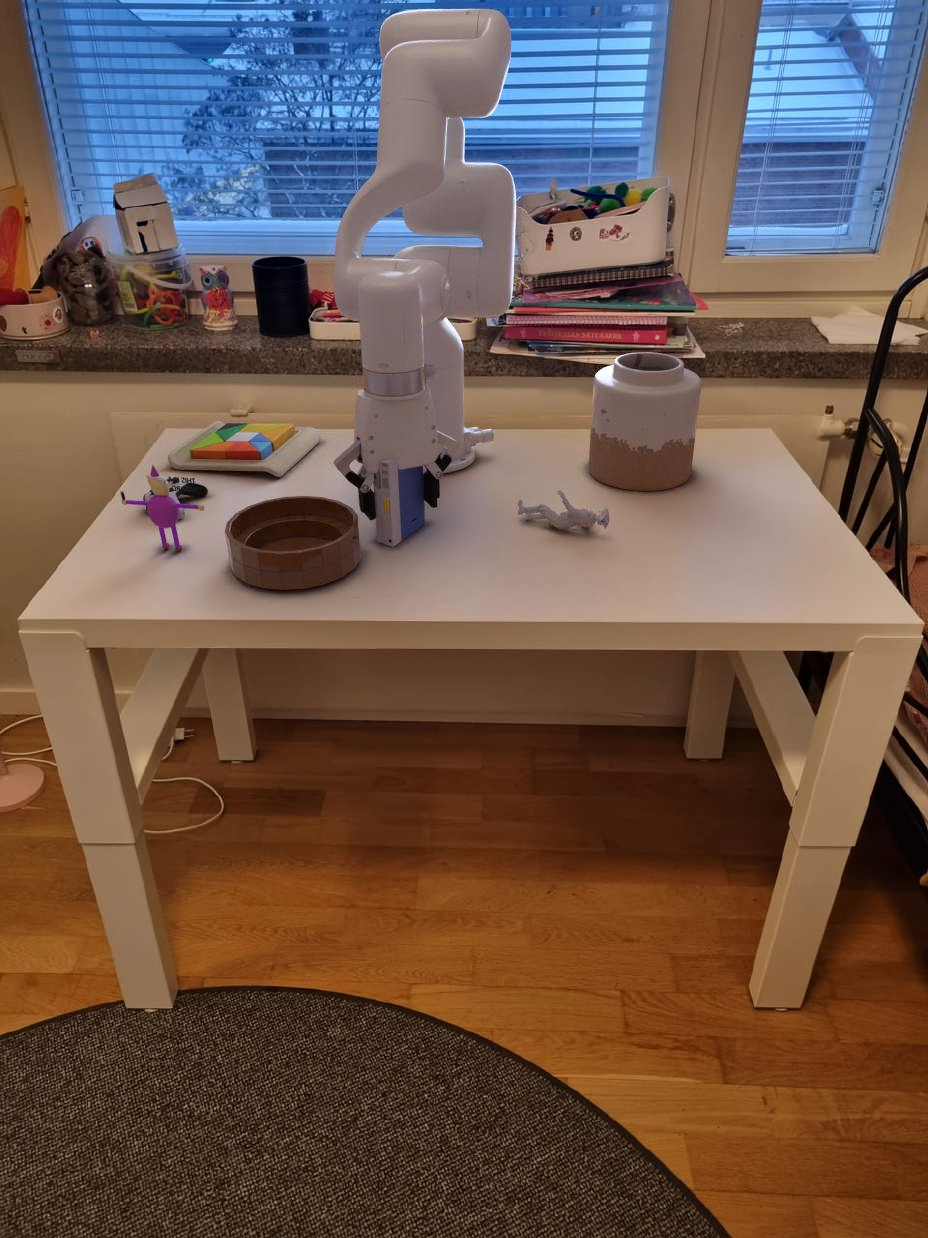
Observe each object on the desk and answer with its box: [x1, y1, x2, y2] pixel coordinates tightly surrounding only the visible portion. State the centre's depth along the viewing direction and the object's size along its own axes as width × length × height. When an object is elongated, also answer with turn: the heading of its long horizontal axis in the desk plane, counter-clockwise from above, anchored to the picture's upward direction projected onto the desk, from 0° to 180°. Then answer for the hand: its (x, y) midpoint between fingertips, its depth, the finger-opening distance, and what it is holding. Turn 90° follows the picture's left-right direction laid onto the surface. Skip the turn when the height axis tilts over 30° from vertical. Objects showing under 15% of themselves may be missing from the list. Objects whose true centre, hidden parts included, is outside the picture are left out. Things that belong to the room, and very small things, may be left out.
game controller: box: [142, 477, 209, 520], centre depth 137 cm, size 10×5×6 cm
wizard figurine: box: [119, 464, 205, 552], centre depth 122 cm, size 11×3×12 cm, turn 79°
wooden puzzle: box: [167, 420, 322, 478], centre depth 153 cm, size 18×19×4 cm
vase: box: [588, 351, 702, 492], centre depth 142 cm, size 15×15×17 cm
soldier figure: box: [517, 490, 610, 531], centre depth 129 cm, size 8×5×12 cm
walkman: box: [372, 458, 426, 548], centre depth 126 cm, size 8×3×12 cm, turn 149°
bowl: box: [224, 495, 362, 591], centre depth 121 cm, size 16×16×6 cm
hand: (400, 509), depth 127 cm, fingers open, 8 cm apart
